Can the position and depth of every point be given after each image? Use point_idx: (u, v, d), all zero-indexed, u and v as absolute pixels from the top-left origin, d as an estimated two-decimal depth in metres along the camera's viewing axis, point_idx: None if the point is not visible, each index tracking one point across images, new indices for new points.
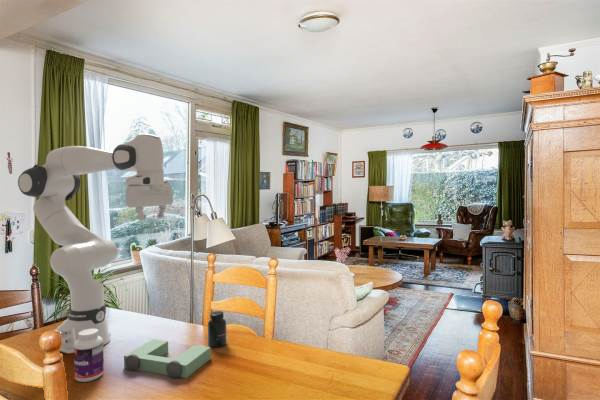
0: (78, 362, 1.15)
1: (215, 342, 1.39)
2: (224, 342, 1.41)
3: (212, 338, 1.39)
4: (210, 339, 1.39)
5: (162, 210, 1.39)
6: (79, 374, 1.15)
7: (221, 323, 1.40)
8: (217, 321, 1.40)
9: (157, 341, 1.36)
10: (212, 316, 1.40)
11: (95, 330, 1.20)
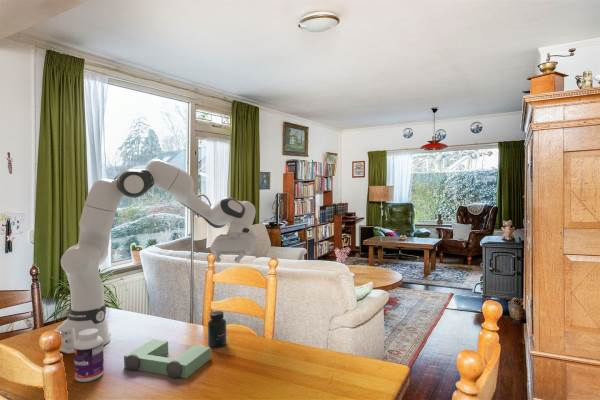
0: (78, 362, 1.15)
1: (215, 342, 1.39)
2: (224, 342, 1.41)
3: (212, 338, 1.39)
4: (210, 339, 1.39)
5: (218, 256, 1.60)
6: (79, 374, 1.15)
7: (221, 323, 1.40)
8: (217, 321, 1.40)
9: (157, 341, 1.36)
10: (212, 316, 1.40)
11: (95, 330, 1.20)
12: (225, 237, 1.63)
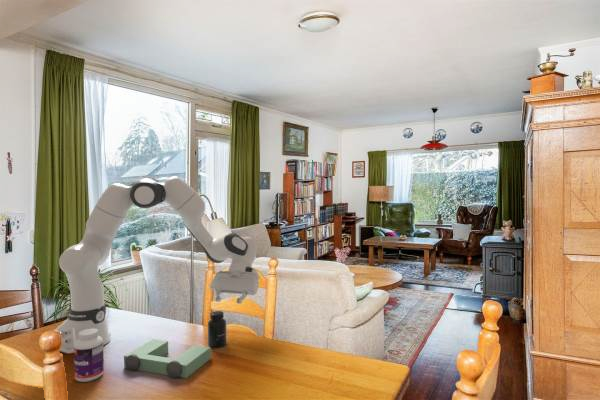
0: (78, 362, 1.15)
1: (215, 342, 1.39)
2: (224, 342, 1.41)
3: (212, 338, 1.39)
4: (210, 339, 1.39)
5: (218, 295, 1.54)
6: (79, 374, 1.15)
7: (221, 323, 1.40)
8: (217, 321, 1.40)
9: (157, 341, 1.36)
10: (212, 316, 1.40)
11: (95, 330, 1.20)
12: (226, 275, 1.57)
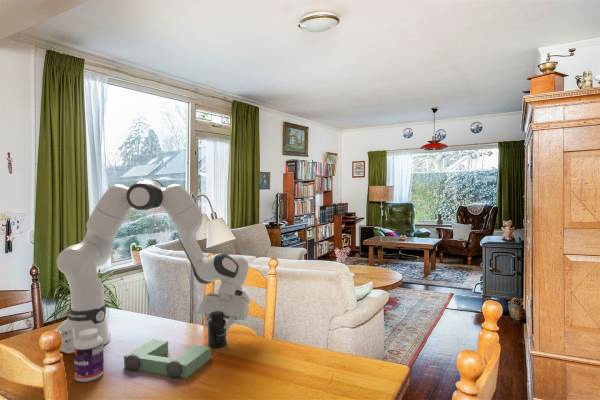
0: (78, 362, 1.15)
1: (215, 341, 1.39)
2: (224, 342, 1.41)
3: (212, 338, 1.39)
4: (210, 339, 1.39)
5: (208, 320, 1.45)
6: (79, 374, 1.15)
7: (221, 323, 1.40)
8: (217, 321, 1.40)
9: (157, 341, 1.36)
10: (212, 316, 1.40)
11: (95, 330, 1.20)
12: (215, 298, 1.49)
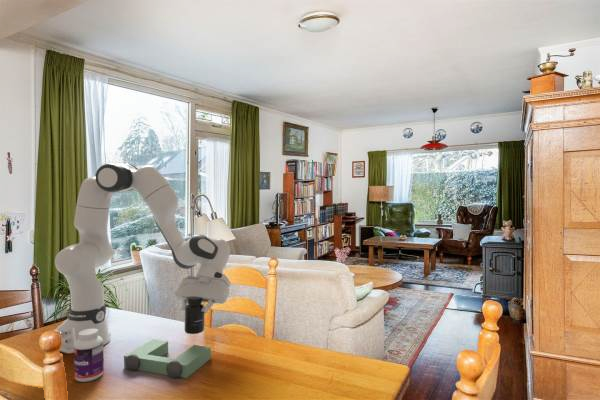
0: (78, 362, 1.15)
1: (192, 327, 1.32)
2: (201, 328, 1.34)
3: (188, 324, 1.33)
4: (187, 324, 1.33)
5: (186, 303, 1.39)
6: (79, 374, 1.15)
7: (199, 308, 1.34)
8: (194, 306, 1.33)
9: (157, 341, 1.36)
10: (189, 301, 1.34)
11: (95, 330, 1.20)
12: (193, 281, 1.42)
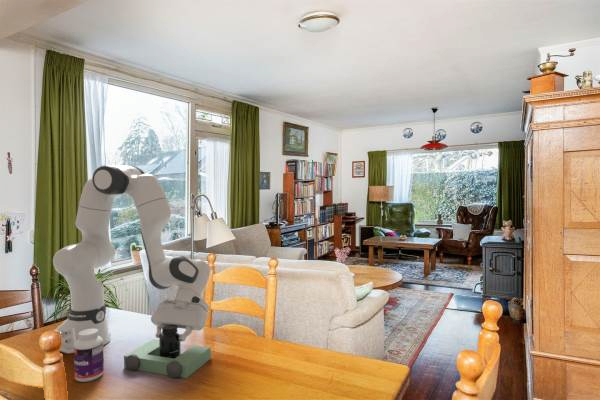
0: (78, 362, 1.15)
1: None
2: None
3: (163, 355, 1.25)
4: (161, 356, 1.26)
5: (160, 330, 1.32)
6: (79, 374, 1.15)
7: (174, 339, 1.26)
8: (169, 337, 1.26)
9: (157, 341, 1.36)
10: (164, 331, 1.27)
11: (95, 330, 1.20)
12: (170, 305, 1.36)
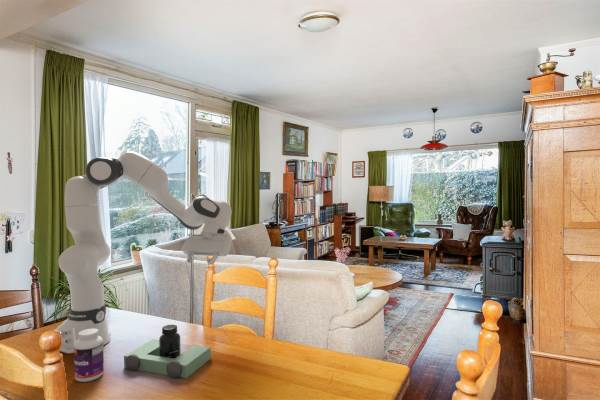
0: (78, 362, 1.15)
1: None
2: None
3: (163, 355, 1.26)
4: (161, 356, 1.26)
5: (190, 257, 1.52)
6: (79, 374, 1.15)
7: (174, 339, 1.26)
8: (168, 337, 1.26)
9: (157, 341, 1.36)
10: (163, 331, 1.27)
11: (95, 330, 1.20)
12: (198, 237, 1.56)
